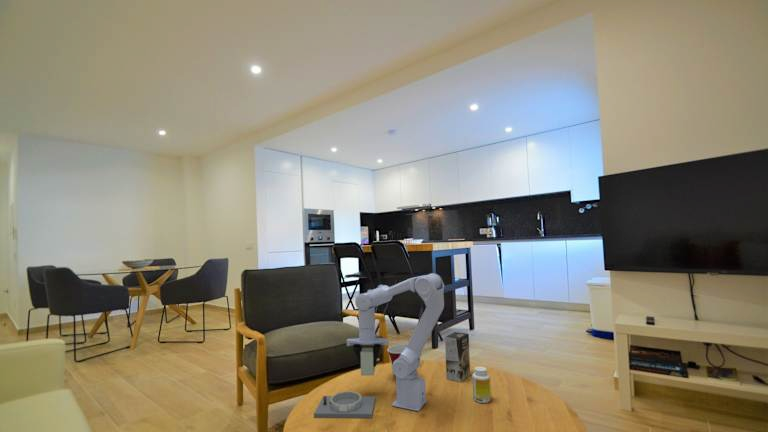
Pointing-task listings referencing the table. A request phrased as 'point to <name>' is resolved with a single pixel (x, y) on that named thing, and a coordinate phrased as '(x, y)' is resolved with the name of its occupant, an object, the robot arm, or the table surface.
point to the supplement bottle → (481, 385)
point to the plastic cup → (396, 352)
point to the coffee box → (457, 356)
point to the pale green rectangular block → (367, 362)
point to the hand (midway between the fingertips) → (367, 365)
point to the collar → (343, 407)
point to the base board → (361, 412)
